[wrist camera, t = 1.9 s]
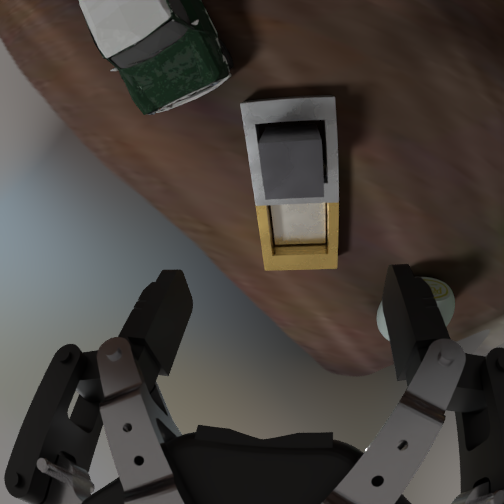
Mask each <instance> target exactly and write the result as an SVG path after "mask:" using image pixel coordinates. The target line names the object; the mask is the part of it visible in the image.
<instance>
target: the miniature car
mask: <svg viewBox="0 0 504 504" xmlns="http://www.w3.org/2000/svg"><path fill="white" fill-rule="evenodd" d="M79 3H80V7H81V9H82V12H83V15H84V17H85V20H86V23H87V26H88V28H89V31H90V33H91V36H92V38H93V40H94V43H95V45H96V47H97V48H98V50H99V51H100V53H101V55H102V56H103V58H104V59H107V60H108V61H109V62H110V63H111V64H113V65H114V66H115V67H116V68H114V69H112V70H110V71H117V70H119V72H120V75H121V78H122V79H123V80H124V82H125V84H126V86H127V89H128V91H129V93H130V95H131V97H132V100H133V101H134V103H135V104H136V106H137V107H138V108H139V109H140V110H141V112H142V113H143V114H144V115H145V114H147V115H151V114H155V113H159V112H162V111H166V110H169V109H172V108H175V107H177V106H179V105H182V104H184V103H187V102H189V101H192V100H194V99H197V98H199V97H200V96H202V95H204V94H206V93H208V92H210V91H212V90H214V89H216V88H217V87H218V86H219V85H221V84H222V83H223V82H224V81H226V80H227V79H228V78H229V77H231V73H228V71H229V72H230V70H229V69H230V68H233V62H232V58H231V56H230V54H229V52H228V50H227V48H226V47H225V45H224V43H223V42H222V41H221V40H220V39H219V38H218V34H217V32H216V29H215V27H214V25H213V23H212V21H211V19H210V17H209V15H208V13H207V11H206V9H205V7H204V5H203V3H202V1H201V0H79ZM227 70H228V71H227ZM228 74H229V75H228ZM222 79H223V80H222ZM220 80H221V81H220ZM212 85H213V86H212ZM208 86H212V87H210V88H208V89H205V88H206V87H208ZM203 89H205V90H203ZM201 90H203V91H201ZM199 91H201V92H199ZM197 92H199V93H197ZM195 93H197V94H195ZM193 94H195V95H193ZM191 95H193V96H191ZM189 96H191V97H189ZM185 98H186V99H185ZM182 99H184V100H182ZM180 100H182V101H180ZM177 101H180V102H178V103H175V102H177ZM172 103H175V104H173V105H170V104H172ZM167 105H170V106H168V107H165V106H167ZM163 107H164V108H163Z"/></svg>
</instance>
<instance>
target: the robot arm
mask: <svg viewBox="0 0 504 504" xmlns="http://www.w3.org/2000/svg"><path fill="white" fill-rule="evenodd" d="M382 307H383V313H384V317H385V321H386V326H387V330H388V335H389V340H390V344H391V349H392V354H393V360H394V365H395V370H396V377H397V381H400V380H406V381H407V386H408V388H407V389H406V391H405V393H404V394H403V396H402V398H401V399H400V401H399V403H398V404H397V406H396V407H395V409H394V410H393V412H392V414H391V415H390V417H389V418H388V420H387V421H386V423H385V424H384V426H383V427H382V429H381V430H380V432H379V433H378V434H377V436H376V437H375V439H374V440H373V441H372V443H371V444H370V445H369V447H368V448H367V449H366V451H365V452H364V453H363V452H361V451H360V450H359V449H357V448H355V447H354V446H352V445H349V444H347V443H344V442H341V441H337V440H333V432H329V433H327V432H326V433H296V434H291V435H286V436H281V437H276V438H270V439H264V440H263V439H258V438H255V437H252V436H249V435H246V434H243V433H240V432H237V431H234V430H231V429H226V428H218V427H210V426H203V425H198V427H197V431H196V432H193V433H188V434H184V435H182V434H181V432H180V431H179V429H178V427H177V426H176V424H175V423H174V421H173V419H172V417H171V415H170V413H169V410H168V408H167V406H166V403H165V401H164V399H163V396H162V394H161V391H160V389H159V386H158V384H157V382H156V379H157V377H158V375H164V376H169V373H170V370H171V367H172V365H173V362H174V359H175V356H176V354H177V351H178V348H179V345H180V343H181V340H182V337H183V334H184V332H185V329H186V326H187V323H188V321H189V318H190V315H191V313H192V308H193V300H192V296H191V293H190V290H189V288H188V285H187V282H186V279H185V276H184V273H183V272H182V270H162V272H161V273H160V275H159V277H158V278H157V280H156V282H152V283H151V284H150V285H148V286H147V287H146V288H145V289H144V290H143V292H142V293H141V295H140V297H139V299H138V302H136V304H135V306H134V309H133V310H132V312H131V313H130V315H129V317H128V319H127V321H126V323H125V324H124V326H123V328H122V330H121V332H120V334H119V336H118V337H114V338H111V339H109V340H107V341H105V342H104V343H103V344H102V345H101V346H100V348H99V350H97V351H90V352H83V353H82V351H81V350H80V349H79V348H78V347H77V346H76V345H74V344H67V345H65V346H63V347H61V348H60V349H59V350H58V351H57V352H56V353H55V355H54V357H53V359H52V361H51V363H50V365H49V367H48V369H47V371H46V373H45V375H44V377H43V379H42V381H41V383H40V386H39V387H38V389H37V392H36V394H35V396H34V398H33V400H32V403H31V405H30V407H29V410H28V412H27V414H26V417H25V419H24V421H23V424H22V427H21V429H20V432H19V434H18V437H17V440H16V442H15V445H14V448H13V450H12V453H11V456H10V459H9V462H8V465H7V468H6V472H5V485H6V488H7V490H8V492H9V493H10V494H11V495H12V496H14V497H16V498H18V499H20V500H23V501H25V502H28V503H29V504H411V503H410V502H409V501H408V500H407V499H406V498H405V497H404V496H403V495H402V493H403V491H404V490H405V488H406V487H407V485H408V484H409V482H410V481H411V479H412V478H413V476H414V475H415V473H416V472H417V470H418V468H419V467H420V465H421V464H422V462H423V460H424V459H425V457H426V455H427V454H428V452H429V450H430V448H431V446H432V445H433V443H434V441H435V439H436V437H437V435H438V433H439V431H440V429H441V428H442V425H443V423H444V421H445V415H444V413H445V411H446V410H449V411H455V416H456V424H457V432H458V442H459V454H460V473H461V494H460V495H458V496H457V497H456V499H454V501H453V502H452V504H504V348H494V349H492V350H491V351H490V352H489V353H488V355H487V356H486V357H484V356H478V355H472V354H467V353H465V352H464V350H463V348H462V347H461V346H460V345H459V344H458V343H457V342H455V341H453V340H451V339H450V337H449V334H448V331H447V328H446V326H445V323H444V320H443V318H442V315H441V312H440V310H439V307H437V302H436V300H435V298H434V295H433V293H432V290H431V288H430V286H429V285H428V284H427V283H426V282H425V281H424V280H423V279H422V278H421V277H414V275H413V273H412V270H411V268H410V266H409V265H408V264H398V265H389V267H388V271H387V276H386V281H385V286H384V291H383V297H382ZM75 391H77V392H78V393H79V397H78V399H77V402H76V404H75V406H74V409H73V412H72V414H71V417H70V419H69V418H68V413H67V412H68V408H69V405H70V402H71V400H72V398H73V395H74V393H75ZM103 425H104V428H105V432H106V436H107V440H108V443H109V447H110V450H111V453H112V456H113V459H114V463H115V466H116V469H117V472H118V475H119V477H118V478H117V479H115V480H114V481H112V482H111V483H109V484H108V485H106V486H105V487H103V488H102V489H100V490H98V491H97V492H95V493H94V494H92V495H91V493H92V492H93V491H94V484H93V483H92V482H91V479H90V476H89V474H88V472H89V468H90V465H91V461H92V458H93V455H94V451H95V448H96V445H97V442H98V438H99V435H100V432H101V429H102V426H103Z"/></svg>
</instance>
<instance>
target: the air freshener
mask: <svg viewBox="0 0 504 504" xmlns="http://www.w3.org/2000/svg"><path fill="white" fill-rule="evenodd" d="M421 278H422V279H423V280H424V281H425V282H426V283H427V284H428V285H429V286H430V288H431V290H432V293H433V295H434V298H435V300H436V302H437V307H439V310H440V312H441V315H442V318H443V320H444V323H445V326H447V325H448V324H449V322H450V320H451V318H452V316H453V313H454V308H455V299H454V295H453V292H452V290H451V288H450V287H449V286H448V285H447V284H446V283H444V282H442V281H440V280H438V279H434V278H429V277H421ZM377 325H378V328H379V330H380V332H381V333H382V335H383V336H384V337H385V338H386V339H387V340H389V335H388V330H387V326H386V321H385V317H384V313H383V307H382V301H381V303H380V305H379V308H378V311H377ZM389 341H390V340H389Z"/></svg>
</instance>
